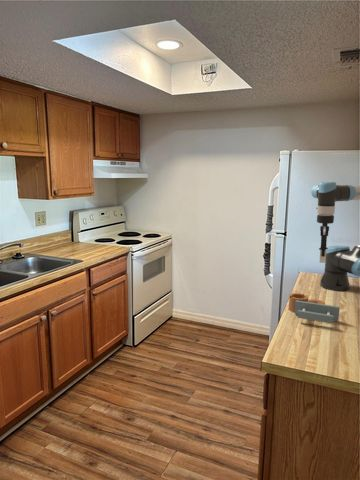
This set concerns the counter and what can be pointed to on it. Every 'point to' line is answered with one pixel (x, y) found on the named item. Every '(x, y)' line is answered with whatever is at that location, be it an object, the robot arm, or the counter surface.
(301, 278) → the counter surface
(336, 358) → the counter surface
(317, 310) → the plate
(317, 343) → the counter surface
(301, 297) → the bracket
